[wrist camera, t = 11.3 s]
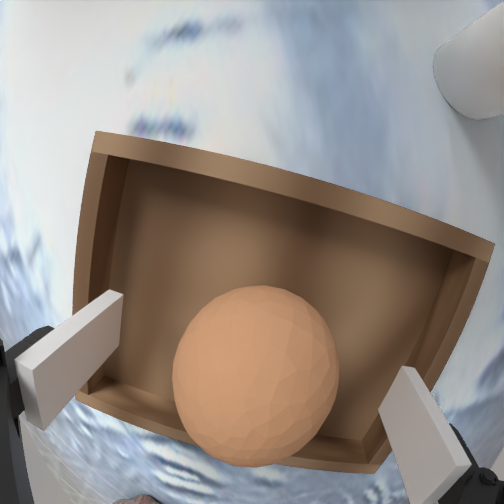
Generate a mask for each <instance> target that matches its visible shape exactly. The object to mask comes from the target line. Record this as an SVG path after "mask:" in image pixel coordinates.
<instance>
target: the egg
mask: <svg viewBox="0 0 504 504" xmlns="http://www.w3.org/2000/svg"><path fill="white" fill-rule="evenodd" d="M172 382H173V391H174V399H175V404H176V407H177V411H178V414H179V416H180V419H181V421H182V423H183V426H184V428H185V429H186V431H187V432H188V434H189V436H190V437H191V438H192V439H193V440H194V441H195V442H196V443H197V444H198V445H199V446H200V447H201V448H202V449H203V450H204V451H205V452H206V453H208V454H209V455H210V456H211V457H213V458H216V459H218V460H221V461H223V462H226V463H228V464H231V465H234V466H241V467H261V466H266V465H271V464H275V463H278V462H280V461H282V460H284V459H286V458H287V457H289V456H291V455H293V454H294V453H296V452H298V451H299V450H300V449H301V448H302V447H303V446H305V445H306V444H307V443H308V442H309V441H310V440H311V439H312V438H313V437H314V436H315V435H316V433H317V432H318V430H319V429H320V427H321V426H322V424H323V422H324V421H325V419H326V418H327V416H328V414H329V413H330V411H331V408H332V406H333V403H334V401H335V399H336V394H337V389H338V384H339V359H338V353H337V347H336V343H335V341H334V338H333V336H332V334H331V332H330V330H329V328H328V325H327V323H326V321H325V320H324V319H323V317H322V316H321V315H320V314H319V313H318V311H317V310H316V309H315V308H314V307H312V306H311V305H310V304H309V303H308V302H306V301H305V300H304V299H303V298H302V297H300V296H297V295H295V294H293V293H291V292H289V291H287V290H285V289H281V288H276V287H271V286H266V285H262V286H247V287H242V288H236V289H233V290H231V291H229V292H227V293H225V294H223V295H220V296H218V297H216V298H214V299H213V300H212V301H211V302H210V303H208V304H207V305H206V306H205V307H203V308H202V309H201V310H200V311H199V313H198V314H197V315H196V316H195V317H194V318H193V320H192V321H191V322H190V323H189V325H188V327H187V329H186V331H185V333H184V335H183V336H182V338H181V340H180V342H179V344H178V348H177V351H176V354H175V358H174V361H173V373H172Z"/></svg>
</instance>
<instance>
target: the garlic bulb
mask: <svg viewBox="0 0 504 504" xmlns="http://www.w3.org/2000/svg"><path fill="white" fill-rule="evenodd" d="M113 504H159V503H158V502H156V501H155V500H154V499H153V498H152V497H150V496H147V495H138V496H136V497H135V498H134V499H132V500H129V499H121V500H118V501H116V502H114V503H113Z"/></svg>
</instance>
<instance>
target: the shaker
mask: <svg viewBox="0 0 504 504" xmlns="http://www.w3.org/2000/svg"><path fill="white" fill-rule="evenodd" d="M433 70H434V76H435V80H436V83H437V85H438V88H439V90H440V92H441V93H442V95H443V97H444V98H445V99H446V101H447V102H448V103H449V104H450V105H451V106H452V107H453V108H454V109H455V110H456V111H457V112H459V113H460V114H462V115H463V116H465V117H467V118H470V119H475V120H481V119H486V118H490V117H494V116H499V115H503V114H504V1H503V2H501V3H500V4H498V5H497V6H495V7H494V8H493V9H491V10H490V11H488V12H487V13H486V14H484V15H483V16H481V17H480V18H479V19H477V20H476V21H475V22H473V23H472V24H470V25H469V26H468V27H466V28H465V29H464V30H462V31H461V32H460V33H458V34H457V35H456V36H454V37H453V38H452V39H450V40H449V41H448V42H446V43H445V44H444V45H442V46H441V47H440V48H439V49H438V50H437V52H436V54H435V57H434V61H433Z"/></svg>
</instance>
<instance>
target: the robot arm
mask: <svg viewBox="0 0 504 504" xmlns="http://www.w3.org/2000/svg"><path fill="white" fill-rule="evenodd" d="M123 297H124V294H121V293H118V292H115V291H113V290H110V289H109V290H108V291H106V292H105V293H103V294H102V295H100V296H99V297H98V298H96V299H95V300H93V301H92V302H91V303H89V304H88V305H86V306H85V307H84V308H82V309H81V310H80V311H78V312H77V313H75V314H74V315H73V316H71V317H70V318H69V319H67V320H66V321H64V322H63V323H62V324H60V325H59V326H58V327H56V328H55V329H54V328H52V327H50V326H46V327H42V328H39V329H37V330H35V331H34V332H32V333H31V334H30V335H29V336H27V337H25V338H24V339H23V340H22V341H20V342H18V343H17V344H16V345H14V346H13V347H11V348H10V349H9V350H7V351H6V352H4V346H3V341H2V340H1V339H0V504H34V500H33V496H32V492H31V488H30V483H29V478H28V473H27V468H26V462H25V456H24V450H23V443H22V435H21V427H20V420H19V415H20V414H21V413H22V412H23V411H25V415H26V418H27V421H28V422H30V423H31V424H33V425H35V426H36V427H38V428H40V429H41V430H43V431H45V429H46V428H47V427H48V426H49V425H50V423H51V422H52V421H53V420H54V419H55V418H56V416H57V415H58V414H59V413H60V412H61V411H62V409H63V408H64V407H65V406H66V405H67V404H68V402H69V401H70V400H71V399H72V398H73V397H74V396H75V394H76V393H77V392H78V391H79V390H80V389H81V387H82V386H83V385H84V384H85V383H86V382H87V381H88V380H89V378H90V377H91V376H92V375H93V374H94V373H95V372H96V370H97V369H98V368H99V367H100V366H101V365H102V364H103V363H104V362H105V360H106V359H107V358H108V357H109V356H110V355H111V354H112V353H113V351H114V350H115V349H116V348H117V347H118V346H119V340H120V328H121V316H122V306H123ZM378 411H379V414H380V417H381V420H382V422H383V425H384V428H385V431H386V433H387V436H388V439H389V442H390V445H391V447H392V450H393V453H394V456H395V459H396V462H397V465H398V468H399V471H400V474H401V477H402V480H403V483H404V486H405V489H406V492H407V495H408V498H409V502H410V504H435V503H437V502H438V503H439V504H504V481H500V480H498V478H497V476H496V474H495V473H494V472H493V471H491V470H490V469H487V468H484V467H483V468H479V467H478V465H477V463H476V461H475V459H474V458H473V456H472V454H471V452H470V451H469V449H468V447H466V444H465V442H464V440H462V439H463V438H462V437H461V435H460V433H459V432H458V430H457V429H456V428H455V427H454V426H453V425H452V424H450V423H448V421H447V420H446V418H445V416H444V414H443V413H442V411H441V409H440V408H439V406H438V404H437V403H436V401H435V400H434V398H433V396H432V395H431V393H430V391H429V390H428V388H427V387H426V385H425V383H424V382H423V380H422V379H421V377H420V375H419V374H418V372H417V371H416V369H415V368H413V367H407V366H401V368H400V370H399V372H398V374H397V376H396V378H395V380H394V382H393V384H392V385H391V387H390V389H389V391H388V393H387V394H386V396H385V398H384V400H383V402H382V403H381V405H380V407H379V408H378Z"/></svg>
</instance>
